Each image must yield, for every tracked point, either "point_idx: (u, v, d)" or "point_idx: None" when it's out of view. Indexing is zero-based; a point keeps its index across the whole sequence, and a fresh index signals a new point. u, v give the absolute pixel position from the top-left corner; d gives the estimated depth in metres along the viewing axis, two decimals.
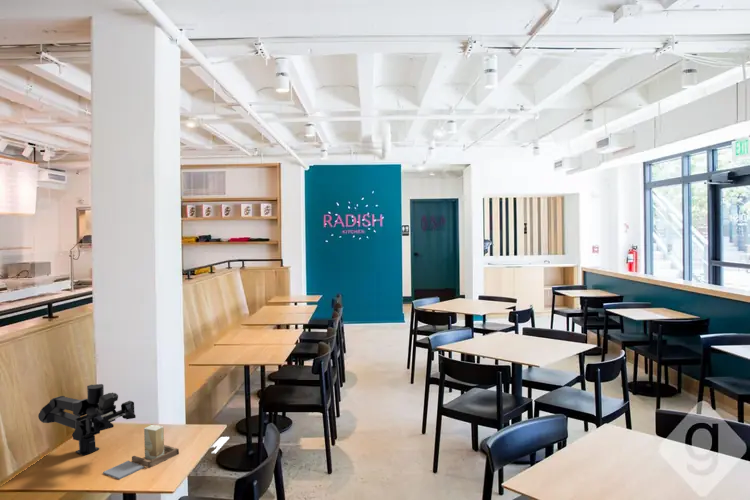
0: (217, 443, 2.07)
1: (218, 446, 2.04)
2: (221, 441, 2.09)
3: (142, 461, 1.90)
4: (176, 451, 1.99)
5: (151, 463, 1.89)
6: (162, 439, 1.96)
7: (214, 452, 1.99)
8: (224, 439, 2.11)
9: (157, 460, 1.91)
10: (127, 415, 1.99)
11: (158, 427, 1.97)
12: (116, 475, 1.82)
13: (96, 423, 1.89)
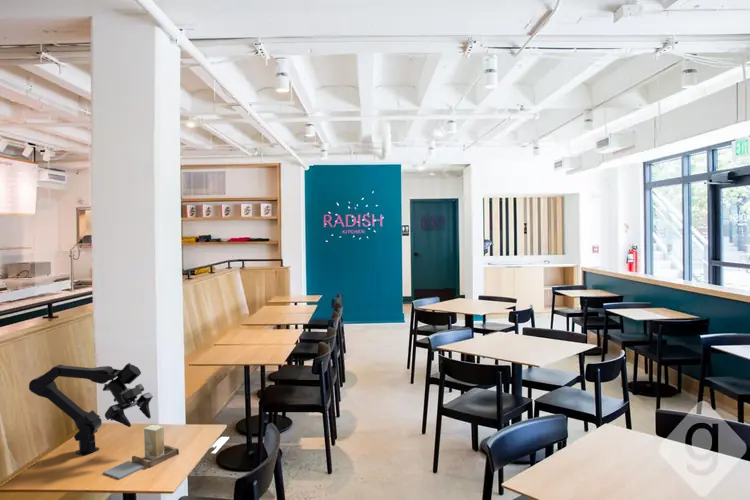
0: (217, 443, 2.07)
1: (218, 446, 2.04)
2: (221, 441, 2.09)
3: (142, 461, 1.90)
4: (176, 451, 1.99)
5: (151, 463, 1.89)
6: (162, 439, 1.96)
7: (214, 452, 1.99)
8: (224, 439, 2.11)
9: (157, 460, 1.91)
10: (142, 408, 2.06)
11: (158, 427, 1.97)
12: (116, 475, 1.82)
13: (116, 414, 1.95)
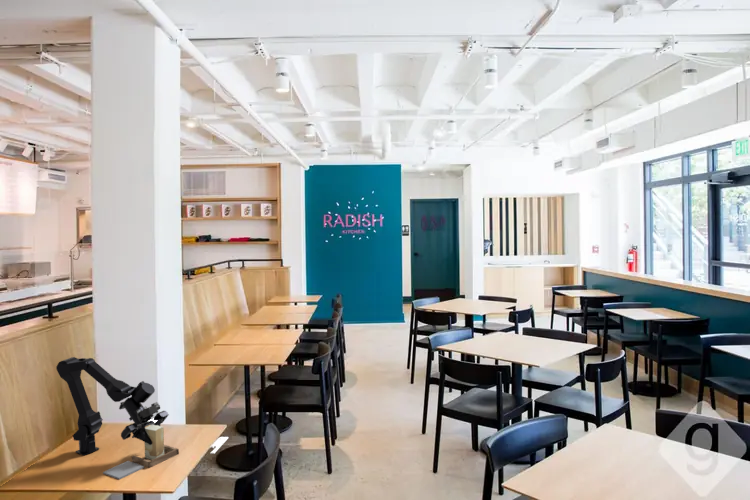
0: (216, 443, 2.07)
1: (217, 446, 2.04)
2: (220, 441, 2.09)
3: (142, 461, 1.90)
4: (176, 451, 1.99)
5: (151, 463, 1.89)
6: (162, 439, 1.96)
7: (213, 452, 1.99)
8: (223, 439, 2.11)
9: (157, 460, 1.91)
10: None
11: (158, 426, 1.97)
12: (116, 475, 1.82)
13: (138, 432, 1.93)
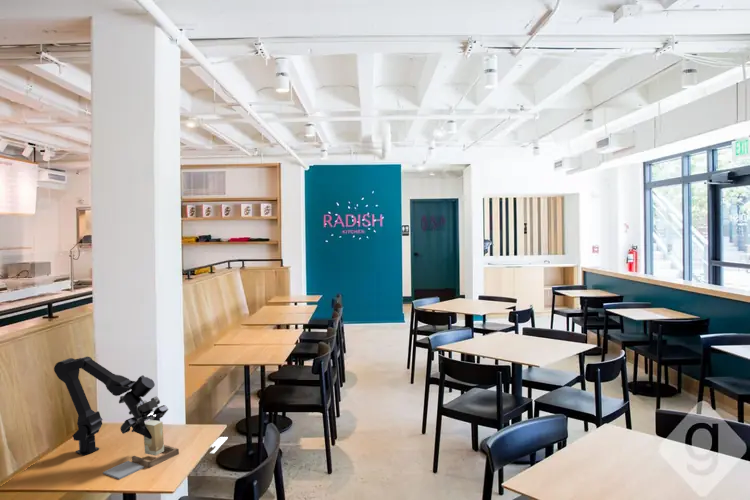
0: (215, 443, 2.07)
1: (216, 446, 2.04)
2: (219, 441, 2.09)
3: (142, 461, 1.90)
4: (176, 451, 1.99)
5: (151, 463, 1.89)
6: (161, 434, 1.96)
7: (212, 452, 1.99)
8: (222, 439, 2.11)
9: (157, 460, 1.91)
10: None
11: (157, 422, 1.97)
12: (116, 475, 1.82)
13: (137, 426, 1.93)
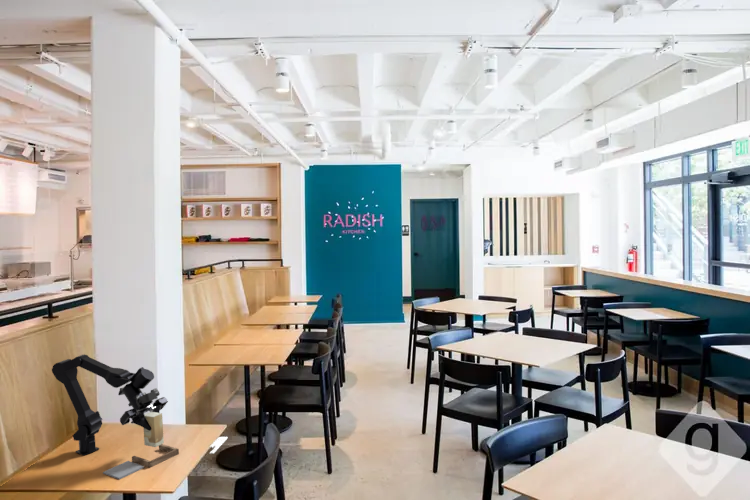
0: (215, 443, 2.07)
1: (216, 446, 2.04)
2: (219, 441, 2.09)
3: (142, 461, 1.90)
4: (176, 451, 1.99)
5: (151, 463, 1.89)
6: (160, 426, 1.96)
7: (212, 452, 1.99)
8: (222, 439, 2.11)
9: (157, 460, 1.91)
10: None
11: (156, 413, 1.96)
12: (116, 475, 1.82)
13: (137, 418, 1.93)
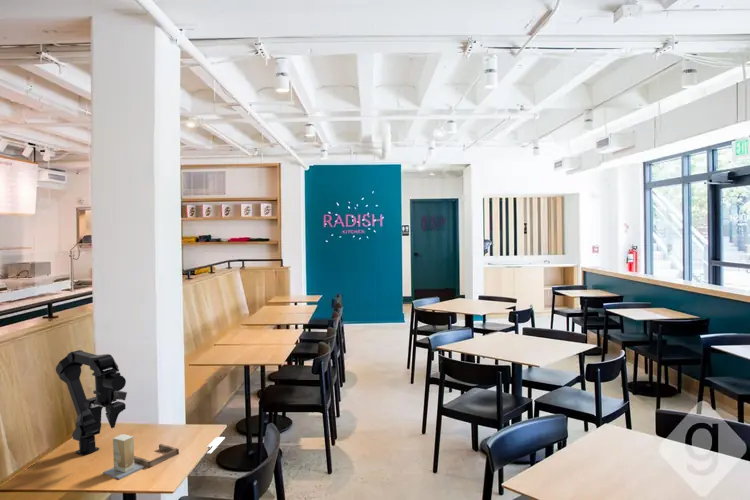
0: (212, 443, 2.07)
1: (213, 446, 2.04)
2: (216, 441, 2.09)
3: (142, 461, 1.90)
4: (176, 451, 1.99)
5: (151, 463, 1.89)
6: (131, 450, 1.86)
7: (209, 452, 1.99)
8: (219, 439, 2.11)
9: (157, 460, 1.91)
10: (95, 411, 1.99)
11: (127, 436, 1.86)
12: (116, 475, 1.82)
13: None
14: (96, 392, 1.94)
